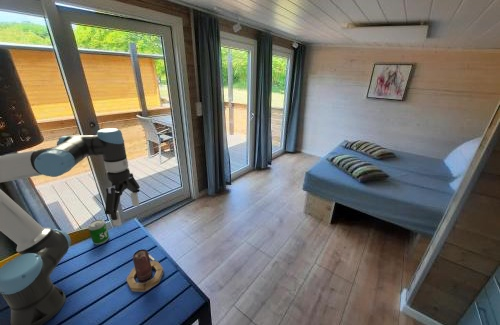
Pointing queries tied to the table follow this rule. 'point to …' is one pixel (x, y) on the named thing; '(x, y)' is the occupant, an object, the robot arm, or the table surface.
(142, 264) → the can
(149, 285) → the wooden ring
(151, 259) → the straight beige square stick
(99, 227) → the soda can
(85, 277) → the table surface
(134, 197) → the robot arm
